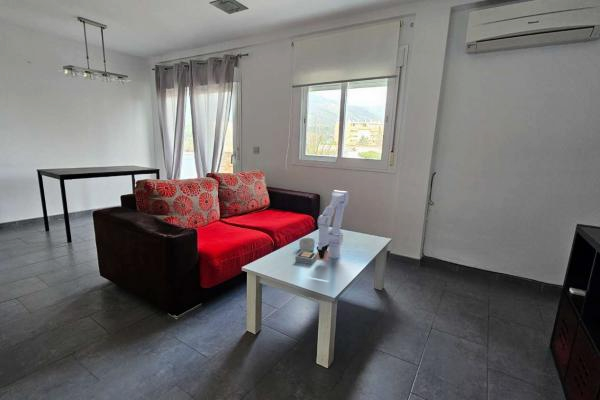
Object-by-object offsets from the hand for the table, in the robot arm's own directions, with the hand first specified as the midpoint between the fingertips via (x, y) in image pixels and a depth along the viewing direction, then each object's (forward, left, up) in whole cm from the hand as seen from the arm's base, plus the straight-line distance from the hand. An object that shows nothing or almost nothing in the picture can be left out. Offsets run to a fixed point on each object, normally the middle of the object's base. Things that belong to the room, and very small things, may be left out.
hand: (322, 256), depth 169 cm
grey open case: (-21, -17, -6) cm, 28 cm away
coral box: (0, 0, -2) cm, 2 cm away
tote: (-2, -11, -6) cm, 13 cm away
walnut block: (-2, -11, -5) cm, 12 cm away
